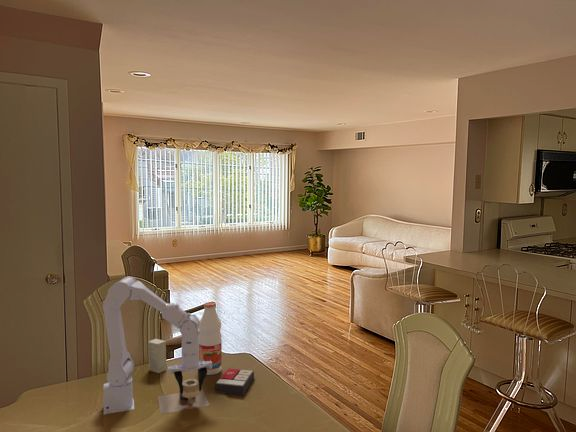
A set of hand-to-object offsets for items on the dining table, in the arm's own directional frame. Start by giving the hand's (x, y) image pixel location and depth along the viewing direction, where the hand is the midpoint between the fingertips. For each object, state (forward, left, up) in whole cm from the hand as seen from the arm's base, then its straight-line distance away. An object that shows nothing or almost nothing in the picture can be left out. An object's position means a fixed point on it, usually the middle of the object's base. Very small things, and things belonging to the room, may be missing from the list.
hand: (190, 391), depth 147 cm
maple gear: (0, 0, -1) cm, 1 cm away
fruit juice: (+12, +27, -6) cm, 30 cm away
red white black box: (+18, +10, -6) cm, 22 cm away
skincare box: (-8, +35, -6) cm, 36 cm away
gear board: (-2, +4, -5) cm, 7 cm away
